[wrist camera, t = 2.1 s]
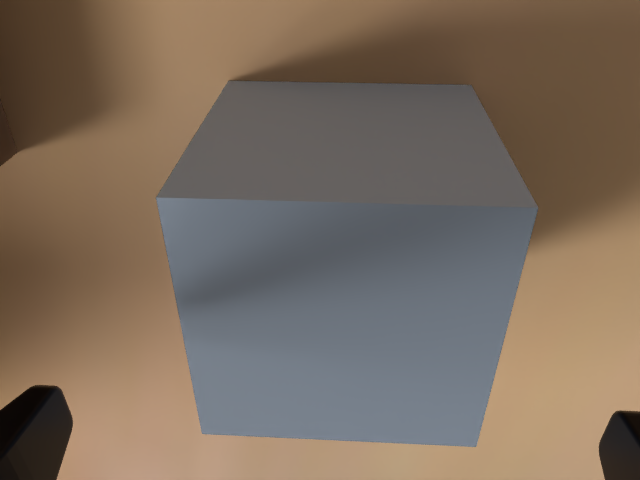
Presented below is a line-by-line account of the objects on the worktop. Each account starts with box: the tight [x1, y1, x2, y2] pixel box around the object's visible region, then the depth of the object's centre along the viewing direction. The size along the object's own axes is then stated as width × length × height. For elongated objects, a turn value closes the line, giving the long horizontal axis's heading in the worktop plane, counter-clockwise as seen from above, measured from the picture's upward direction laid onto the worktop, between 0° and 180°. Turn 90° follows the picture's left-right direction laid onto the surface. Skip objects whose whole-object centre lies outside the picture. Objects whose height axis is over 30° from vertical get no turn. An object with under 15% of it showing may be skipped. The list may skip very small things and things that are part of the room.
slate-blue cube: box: [156, 81, 538, 447], centre depth 13 cm, size 6×6×6 cm
